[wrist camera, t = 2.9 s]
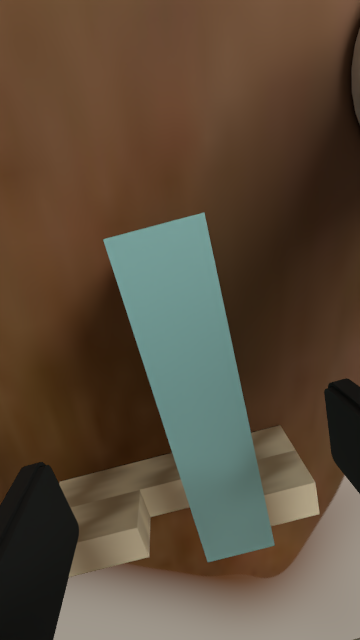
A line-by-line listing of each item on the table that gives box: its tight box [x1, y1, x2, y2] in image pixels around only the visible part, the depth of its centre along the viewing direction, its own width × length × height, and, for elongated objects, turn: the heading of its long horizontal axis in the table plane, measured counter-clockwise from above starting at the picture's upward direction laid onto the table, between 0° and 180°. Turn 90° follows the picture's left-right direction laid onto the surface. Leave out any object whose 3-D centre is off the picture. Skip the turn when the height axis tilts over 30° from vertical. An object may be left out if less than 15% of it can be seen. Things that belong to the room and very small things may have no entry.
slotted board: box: [59, 425, 319, 577], centre depth 23 cm, size 20×3×6 cm, turn 104°
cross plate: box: [103, 213, 275, 562], centre depth 16 cm, size 14×3×12 cm, turn 14°
